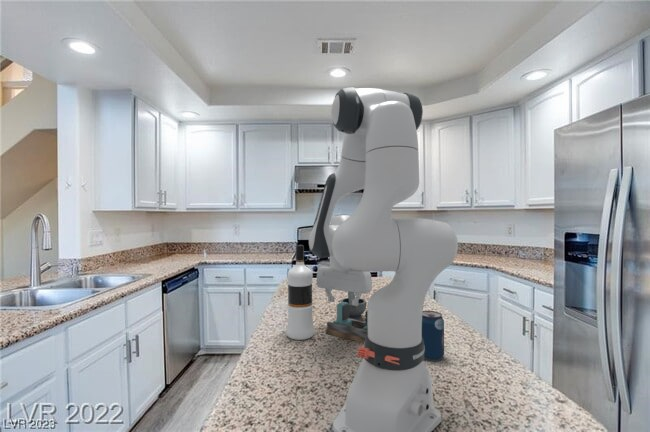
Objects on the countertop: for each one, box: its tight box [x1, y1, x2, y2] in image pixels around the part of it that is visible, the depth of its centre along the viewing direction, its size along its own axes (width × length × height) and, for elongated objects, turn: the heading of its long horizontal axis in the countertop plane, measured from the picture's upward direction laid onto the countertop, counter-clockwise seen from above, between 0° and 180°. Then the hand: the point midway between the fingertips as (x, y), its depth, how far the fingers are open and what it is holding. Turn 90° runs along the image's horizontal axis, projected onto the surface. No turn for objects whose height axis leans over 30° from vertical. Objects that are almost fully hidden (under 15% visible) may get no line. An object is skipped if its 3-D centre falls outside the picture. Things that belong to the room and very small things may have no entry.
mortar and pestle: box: [340, 291, 367, 321], centre depth 120 cm, size 11×9×12 cm
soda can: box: [422, 310, 445, 362], centre depth 87 cm, size 7×7×12 cm
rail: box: [325, 310, 368, 344], centre depth 103 cm, size 18×9×10 cm, turn 56°
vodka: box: [285, 244, 315, 341], centre depth 103 cm, size 9×9×30 cm
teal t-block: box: [332, 301, 352, 327], centre depth 106 cm, size 5×4×8 cm
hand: (343, 303), depth 105 cm, fingers open, 8 cm apart
